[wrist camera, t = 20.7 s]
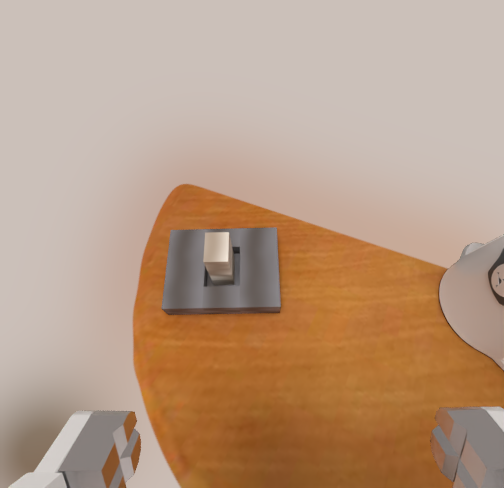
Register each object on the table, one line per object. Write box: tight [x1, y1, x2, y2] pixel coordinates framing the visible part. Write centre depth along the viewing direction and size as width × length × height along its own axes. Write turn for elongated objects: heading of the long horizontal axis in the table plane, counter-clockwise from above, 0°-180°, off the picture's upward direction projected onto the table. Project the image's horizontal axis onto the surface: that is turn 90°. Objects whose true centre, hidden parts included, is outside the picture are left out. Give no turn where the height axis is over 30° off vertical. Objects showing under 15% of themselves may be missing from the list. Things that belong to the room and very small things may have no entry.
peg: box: [203, 232, 235, 285], centre depth 42 cm, size 3×4×9 cm
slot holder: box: [162, 228, 281, 315], centre depth 45 cm, size 16×12×4 cm
